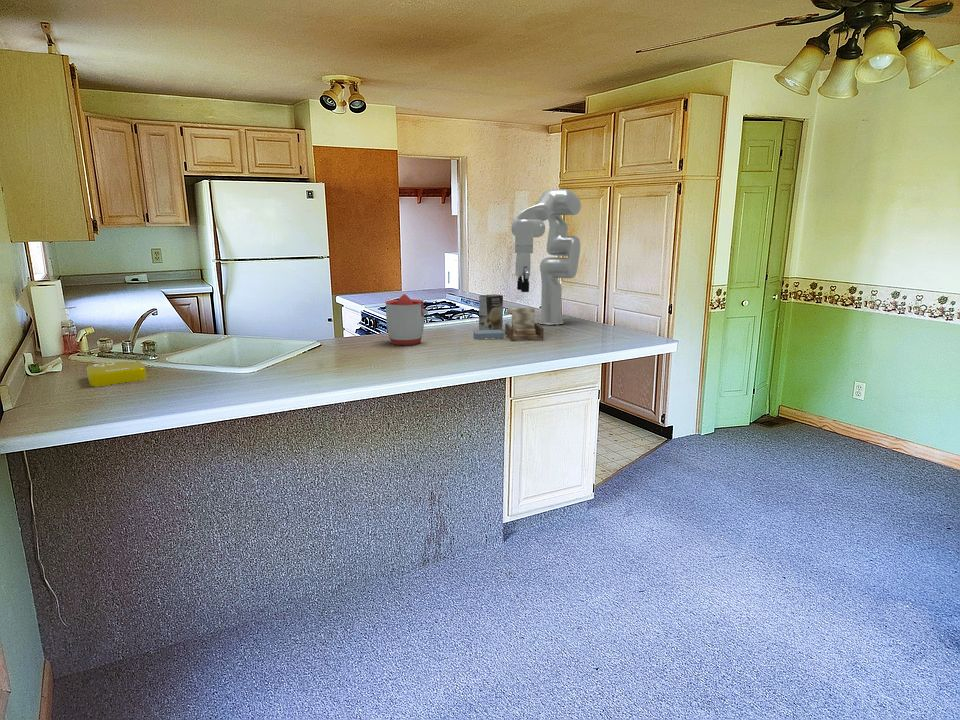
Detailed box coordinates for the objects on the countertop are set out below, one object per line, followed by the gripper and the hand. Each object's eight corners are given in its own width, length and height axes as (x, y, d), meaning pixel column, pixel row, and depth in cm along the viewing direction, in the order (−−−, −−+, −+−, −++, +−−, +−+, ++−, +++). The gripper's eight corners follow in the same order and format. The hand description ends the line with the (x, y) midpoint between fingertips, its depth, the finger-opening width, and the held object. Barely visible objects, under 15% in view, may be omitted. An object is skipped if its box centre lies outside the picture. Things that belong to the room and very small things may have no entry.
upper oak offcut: (534, 333, 253) (534, 328, 253) (535, 335, 249) (535, 330, 249) (515, 334, 253) (515, 328, 252) (516, 335, 249) (516, 330, 248)
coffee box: (487, 332, 265) (487, 296, 261) (478, 330, 270) (478, 295, 266) (503, 330, 270) (503, 295, 267) (493, 328, 275) (494, 293, 272)
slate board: (501, 335, 259) (501, 329, 258) (503, 338, 251) (503, 333, 250) (473, 335, 257) (473, 330, 257) (475, 339, 250) (475, 333, 249)
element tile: (91, 389, 178) (88, 373, 177) (87, 378, 190) (85, 364, 189) (147, 381, 187) (145, 366, 186) (140, 371, 199) (139, 357, 197)
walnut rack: (536, 334, 262) (536, 322, 260) (543, 340, 248) (543, 328, 247) (505, 334, 260) (505, 323, 259) (510, 341, 246) (510, 329, 245)
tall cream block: (532, 335, 259) (532, 307, 257) (534, 337, 255) (534, 309, 252) (511, 335, 258) (511, 308, 256) (513, 337, 254) (513, 309, 251)
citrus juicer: (427, 347, 235) (426, 296, 231) (383, 346, 236) (381, 296, 231) (431, 339, 250) (430, 291, 246) (390, 339, 251) (388, 291, 246)
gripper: (511, 249, 256) (510, 289, 260) (518, 250, 239) (517, 292, 243) (528, 249, 257) (527, 289, 261) (536, 250, 240) (535, 292, 244)
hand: (522, 290), depth 252 cm, fingers open, 9 cm apart
